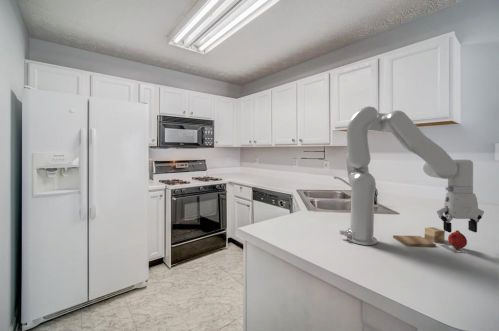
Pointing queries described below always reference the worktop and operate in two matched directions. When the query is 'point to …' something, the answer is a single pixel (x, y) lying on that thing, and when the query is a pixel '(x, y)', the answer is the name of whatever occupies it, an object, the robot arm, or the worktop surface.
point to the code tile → (457, 249)
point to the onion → (457, 240)
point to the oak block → (434, 234)
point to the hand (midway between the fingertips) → (460, 231)
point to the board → (414, 241)
